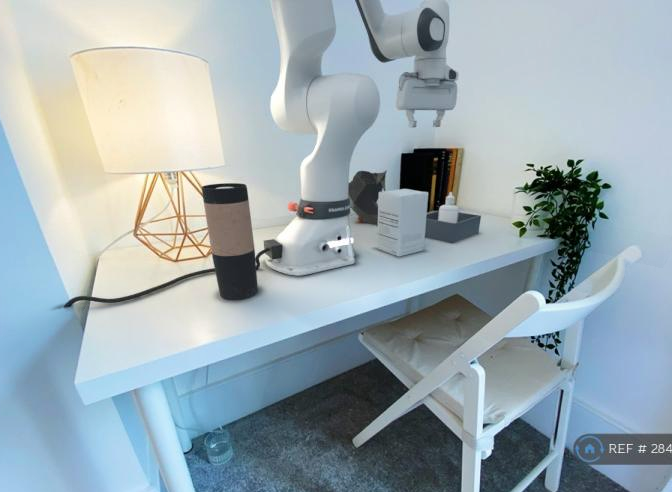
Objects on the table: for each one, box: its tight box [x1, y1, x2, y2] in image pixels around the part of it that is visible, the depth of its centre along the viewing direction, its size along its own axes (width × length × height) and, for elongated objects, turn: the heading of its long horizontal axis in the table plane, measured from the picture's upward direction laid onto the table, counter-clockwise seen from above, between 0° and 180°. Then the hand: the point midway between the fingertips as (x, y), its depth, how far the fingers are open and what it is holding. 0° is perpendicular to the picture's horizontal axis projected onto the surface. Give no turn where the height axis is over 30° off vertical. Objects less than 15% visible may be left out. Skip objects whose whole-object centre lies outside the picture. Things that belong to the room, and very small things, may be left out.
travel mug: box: [201, 182, 259, 301], centre depth 62 cm, size 8×8×20 cm
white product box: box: [376, 188, 429, 258], centre depth 87 cm, size 9×9×15 cm
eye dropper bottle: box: [438, 191, 460, 223], centre depth 101 cm, size 4×6×12 cm
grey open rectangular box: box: [425, 210, 482, 244], centre depth 103 cm, size 15×13×5 cm
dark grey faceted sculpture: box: [348, 169, 388, 226], centre depth 115 cm, size 14×15×18 cm
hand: (424, 127), depth 102 cm, fingers open, 8 cm apart
